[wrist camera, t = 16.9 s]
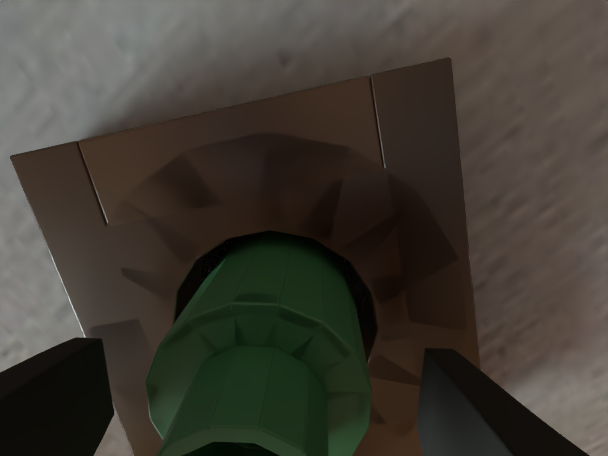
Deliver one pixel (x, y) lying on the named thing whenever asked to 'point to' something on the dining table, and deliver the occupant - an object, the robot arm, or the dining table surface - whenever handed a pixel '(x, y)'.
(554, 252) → the dining table surface
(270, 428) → the bottle
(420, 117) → the holder
